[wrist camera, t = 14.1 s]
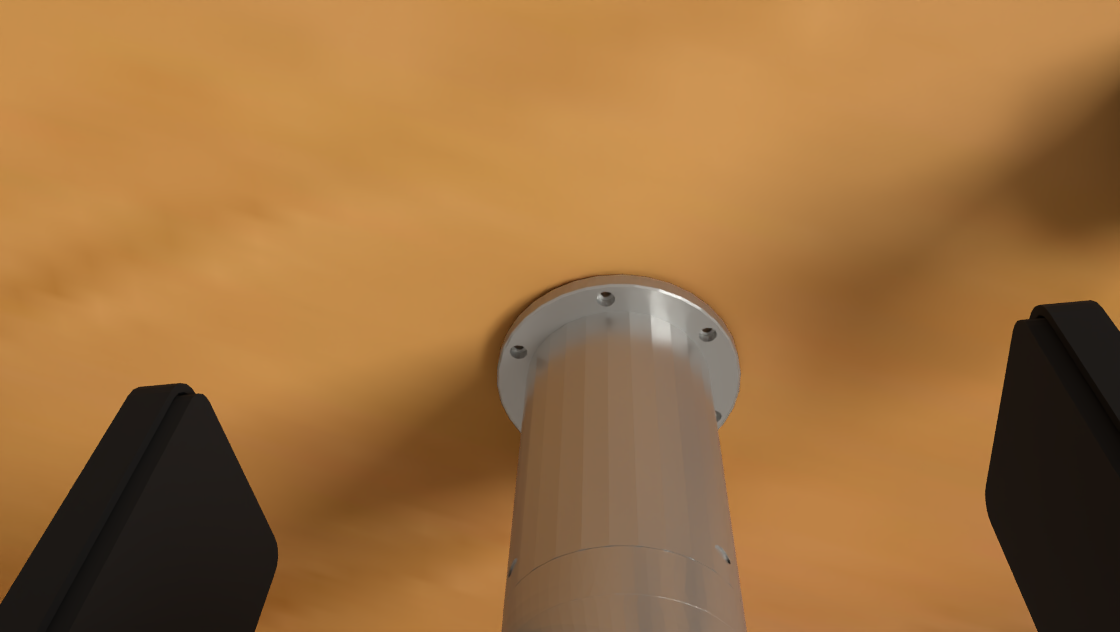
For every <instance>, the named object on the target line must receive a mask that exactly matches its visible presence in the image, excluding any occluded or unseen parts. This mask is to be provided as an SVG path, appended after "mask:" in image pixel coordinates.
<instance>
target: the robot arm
mask: <svg viewBox="0 0 1120 632" xmlns="http://www.w3.org/2000/svg"><path fill="white" fill-rule="evenodd" d="M740 375H741V372H740V366H739V359H738V353H737V350H736V347H735V343H734V340H733V337H732V335H731V333H730V332H729V330H728V328H727V327H726V325H725V323H724V321H723V320H722V319H721V318H720V317H719V316H718V315H717V314H716V312H715V311H714V310H713V309H712V308H711V307H710V306H709V305H708V304H706V303H705V302H703V301H702V300H701V299H699V298H698V297H696V296H695V295H693V294H692V293H690V292H688V291H686V290H684V289H682V288H680V287H677V286H675V285H673V284H671V283H668V282H664V281H660V280H657V279H653V278H649V277H643V276H633V275H623V274H622V275H605V276H595V277H591V278H586V279H582V280H577V281H573V282H571V283H568V284H566V285H563V286H561V287H558V288H556V289H554V290H552V291H550V292H548V293H547V294H545V295H544V296H542V297H540V298H539V299H537V300H536V301H534V302H533V303H532V304H531V305H530V306H529V307H528V308H526V309H525V310H524V311H523V312H522V313H521V314H520V315H519V316H518V317H517V319H516V320H515V322H514V323H513V325H512V326H511V327H510V329H509V330H508V332H507V334H506V337H505V339H504V342H503V344H502V347H501V349H500V356H499V361H498V367H497V387H498V391H499V395H500V400H501V403H502V405H503V407H504V409H505V411H506V413H507V415H508V417H509V419H510V420H511V421H512V423H513V424H514V425H515V426H516V428H517V429H518V430H519V431H520V433H521V438H520V448H519V458H518V468H517V478H516V488H515V498H514V508H513V519H512V529H511V539H510V549H509V559H508V569H507V579H506V589H505V599H504V609H503V621H502V632H747V629H746V622H745V615H744V608H743V601H742V594H741V587H740V580H739V573H738V566H737V559H736V552H735V545H734V539H733V532H732V525H731V518H730V511H729V504H728V497H727V490H726V483H725V476H724V469H723V462H722V455H721V448H720V441H719V434H718V429H719V428H720V427H721V426H722V425H723V424H724V422H725V421H726V419H727V418H728V416H729V414H730V413H731V411H732V410H733V408H734V405H735V402H736V399H737V396H738V393H739V387H740ZM985 499H986V507H987V512H988V516H989V519H990V522H991V524H992V527H993V529H994V531H995V534H996V536H997V538H998V541H999V543H1000V545H1001V547H1002V550H1003V552H1004V554H1005V557H1006V559H1007V561H1008V564H1009V566H1010V568H1011V571H1012V573H1013V575H1014V578H1015V580H1016V582H1017V584H1018V587H1019V589H1020V591H1021V594H1022V596H1023V598H1024V601H1025V603H1026V605H1027V608H1028V610H1029V612H1030V615H1031V617H1032V619H1033V622H1034V624H1035V626H1036V628H1037V631H1038V632H1120V331H1119V330H1118V329H1117V327H1116V326H1115V325H1114V323H1113V322H1112V320H1111V319H1110V318H1109V316H1108V315H1107V314H1106V312H1105V311H1104V309H1103V308H1102V307H1101V306H1100V305H1099V304H1098V303H1097V302H1095V301H1092V300H1089V301H1078V302H1067V303H1056V304H1045V305H1038V306H1036V307H1034V309H1033V310H1032V312H1031V315H1030V318H1029V319H1026V320H1019V321H1017V322H1016V324H1015V326H1014V329H1013V334H1012V339H1011V345H1010V351H1009V356H1008V362H1007V368H1006V374H1005V379H1004V385H1003V391H1002V397H1001V402H1000V408H999V414H998V420H997V425H996V431H995V437H994V443H993V448H992V454H991V460H990V465H989V471H988V477H987V483H986V490H985ZM277 561H278V548H277V542H276V540H275V537H274V535H273V533H272V531H271V529H270V526H269V524H268V522H267V520H266V518H265V516H264V514H263V512H262V510H261V508H260V506H259V504H258V502H257V499H256V497H255V495H254V493H253V491H252V489H251V487H250V485H249V483H248V481H247V479H246V477H245V475H244V472H243V470H242V468H241V466H240V464H239V462H238V460H237V458H236V456H235V454H234V452H233V450H232V448H231V445H230V443H229V441H228V439H227V437H226V435H225V433H224V431H223V429H222V427H221V425H220V423H219V421H218V418H217V416H216V414H215V412H214V410H213V408H212V406H211V404H210V402H209V400H208V399H207V397H206V396H204V395H203V394H195V392H194V391H193V389H192V388H191V387H190V386H188V385H187V384H183V383H177V384H166V385H155V386H144V387H138V388H136V389H134V390H133V391H132V392H131V393H130V394H129V395H128V397H127V398H126V400H125V402H124V403H123V405H122V407H121V408H120V410H119V411H118V413H117V415H116V416H115V418H114V420H113V421H112V423H111V425H110V426H109V428H108V429H107V431H106V433H105V434H104V436H103V438H102V439H101V441H100V442H99V444H98V446H97V447H96V449H95V451H94V452H93V454H92V456H91V457H90V459H89V460H88V462H87V464H86V465H85V467H84V469H83V470H82V472H81V474H80V475H79V477H78V478H77V480H76V482H75V483H74V485H73V487H72V488H71V490H70V492H69V493H68V495H67V496H66V498H65V500H64V501H63V503H62V505H61V506H60V508H59V509H58V511H57V513H56V514H55V516H54V518H53V519H52V521H51V523H50V524H49V526H48V527H47V529H46V531H45V532H44V534H43V536H42V537H41V539H40V541H39V542H38V544H37V545H36V547H35V549H34V550H33V552H32V554H31V555H30V557H29V559H28V560H27V562H26V563H25V565H24V567H23V568H22V570H21V572H20V573H19V575H18V576H17V578H16V580H15V581H14V583H13V585H12V586H11V588H10V590H9V591H8V593H7V594H6V596H5V598H4V599H3V601H2V603H1V604H0V632H255V629H256V626H257V623H258V620H259V617H260V615H261V612H262V609H263V606H264V603H265V600H266V597H267V594H268V591H269V588H270V585H271V583H272V580H273V577H274V574H275V571H276V567H277Z"/></svg>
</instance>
